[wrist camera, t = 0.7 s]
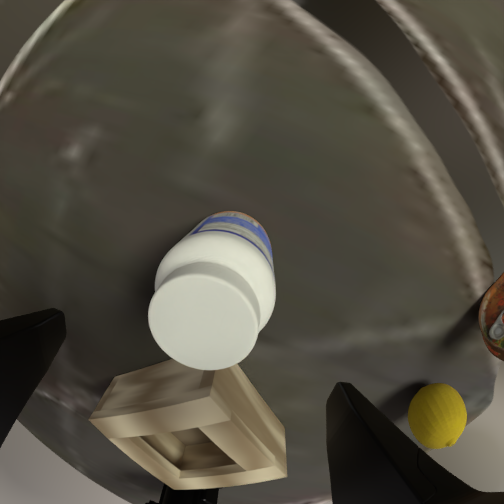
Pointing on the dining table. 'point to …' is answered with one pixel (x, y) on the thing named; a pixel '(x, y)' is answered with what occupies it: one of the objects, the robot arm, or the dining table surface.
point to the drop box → (193, 426)
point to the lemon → (437, 415)
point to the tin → (493, 318)
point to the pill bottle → (214, 292)
